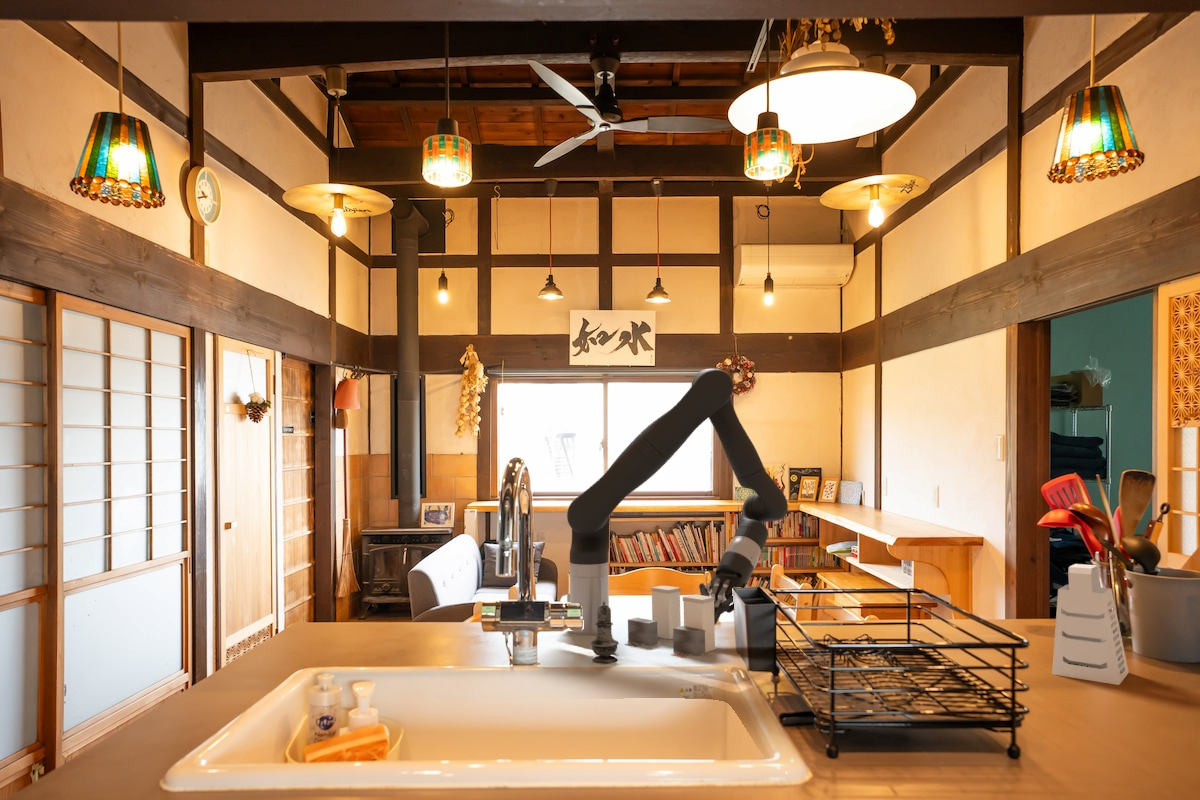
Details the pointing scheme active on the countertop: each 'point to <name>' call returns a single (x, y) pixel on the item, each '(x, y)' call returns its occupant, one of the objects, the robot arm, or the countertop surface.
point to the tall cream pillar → (666, 609)
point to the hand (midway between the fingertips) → (707, 624)
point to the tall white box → (701, 617)
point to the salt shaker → (604, 638)
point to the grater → (1088, 630)
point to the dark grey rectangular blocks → (683, 637)
